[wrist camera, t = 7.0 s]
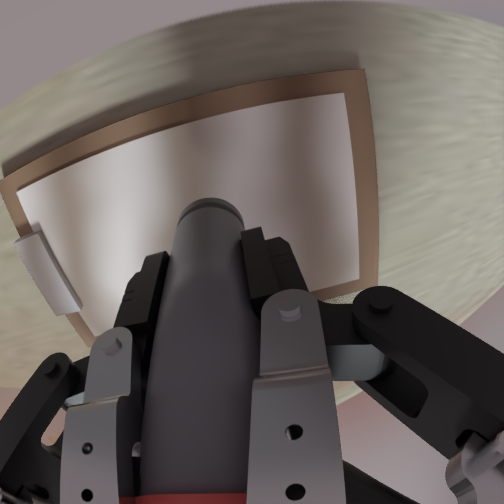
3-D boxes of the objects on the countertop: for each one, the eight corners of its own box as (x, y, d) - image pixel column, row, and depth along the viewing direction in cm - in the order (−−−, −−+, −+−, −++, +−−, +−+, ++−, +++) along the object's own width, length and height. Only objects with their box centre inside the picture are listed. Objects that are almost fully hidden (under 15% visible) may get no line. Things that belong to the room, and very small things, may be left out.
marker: (260, 218, 13) (354, 559, 3) (222, 269, 14) (248, 571, 4) (198, 181, 12) (173, 588, 1) (162, 239, 13) (113, 565, 3)
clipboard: (358, 69, 13) (370, 68, 12) (373, 278, 21) (381, 291, 19) (1, 179, 14) (-12, 187, 13) (89, 340, 21) (84, 354, 20)
